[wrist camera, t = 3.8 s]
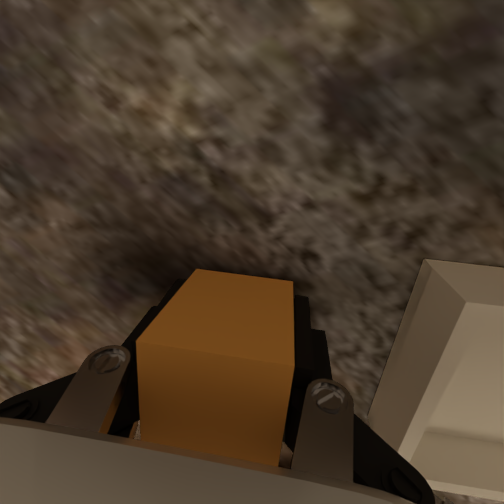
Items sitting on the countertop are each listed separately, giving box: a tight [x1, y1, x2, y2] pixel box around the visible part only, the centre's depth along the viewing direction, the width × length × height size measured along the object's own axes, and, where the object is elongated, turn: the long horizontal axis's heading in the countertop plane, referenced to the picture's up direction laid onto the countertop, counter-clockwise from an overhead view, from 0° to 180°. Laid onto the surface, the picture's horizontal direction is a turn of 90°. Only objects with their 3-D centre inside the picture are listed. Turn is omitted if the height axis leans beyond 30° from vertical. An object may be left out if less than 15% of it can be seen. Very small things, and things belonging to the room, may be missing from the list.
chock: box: [136, 269, 295, 467], centre depth 10 cm, size 4×5×5 cm
